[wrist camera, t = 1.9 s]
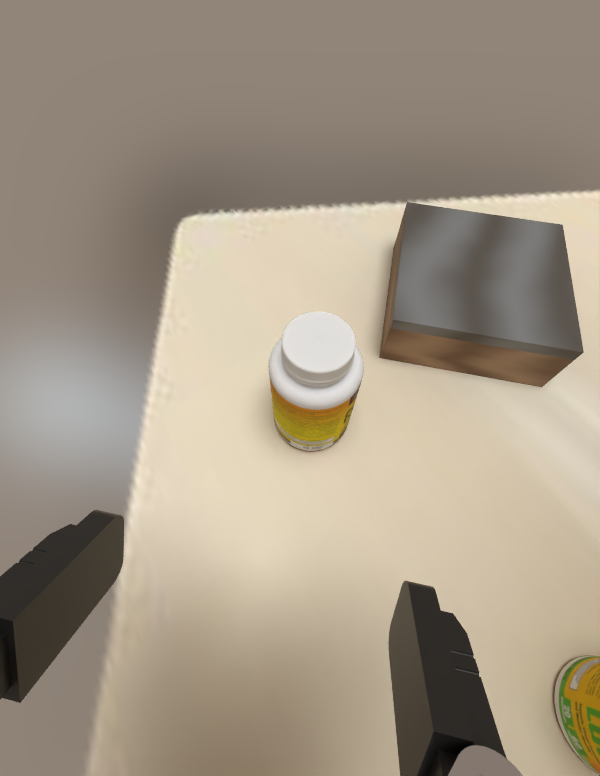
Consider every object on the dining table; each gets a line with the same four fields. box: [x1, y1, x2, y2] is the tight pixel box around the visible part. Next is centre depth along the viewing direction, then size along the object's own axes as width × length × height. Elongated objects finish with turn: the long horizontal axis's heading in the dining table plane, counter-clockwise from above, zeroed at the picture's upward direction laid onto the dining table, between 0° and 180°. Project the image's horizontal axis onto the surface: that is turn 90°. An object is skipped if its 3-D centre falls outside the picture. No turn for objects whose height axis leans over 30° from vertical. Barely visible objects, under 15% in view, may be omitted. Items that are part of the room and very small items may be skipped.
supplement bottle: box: [269, 311, 364, 451], centre depth 25 cm, size 6×6×10 cm
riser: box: [380, 202, 583, 387], centre depth 32 cm, size 13×13×5 cm
